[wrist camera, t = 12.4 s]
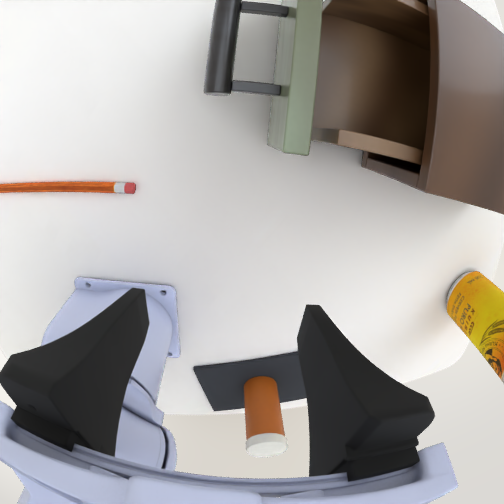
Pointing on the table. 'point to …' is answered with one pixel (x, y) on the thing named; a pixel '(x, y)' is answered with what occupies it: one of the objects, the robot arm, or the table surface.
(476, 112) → the cabinet
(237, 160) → the table surface
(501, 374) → the beer can
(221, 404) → the mat
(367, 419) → the robot arm
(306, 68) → the drawer
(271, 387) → the bottle
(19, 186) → the pencil
